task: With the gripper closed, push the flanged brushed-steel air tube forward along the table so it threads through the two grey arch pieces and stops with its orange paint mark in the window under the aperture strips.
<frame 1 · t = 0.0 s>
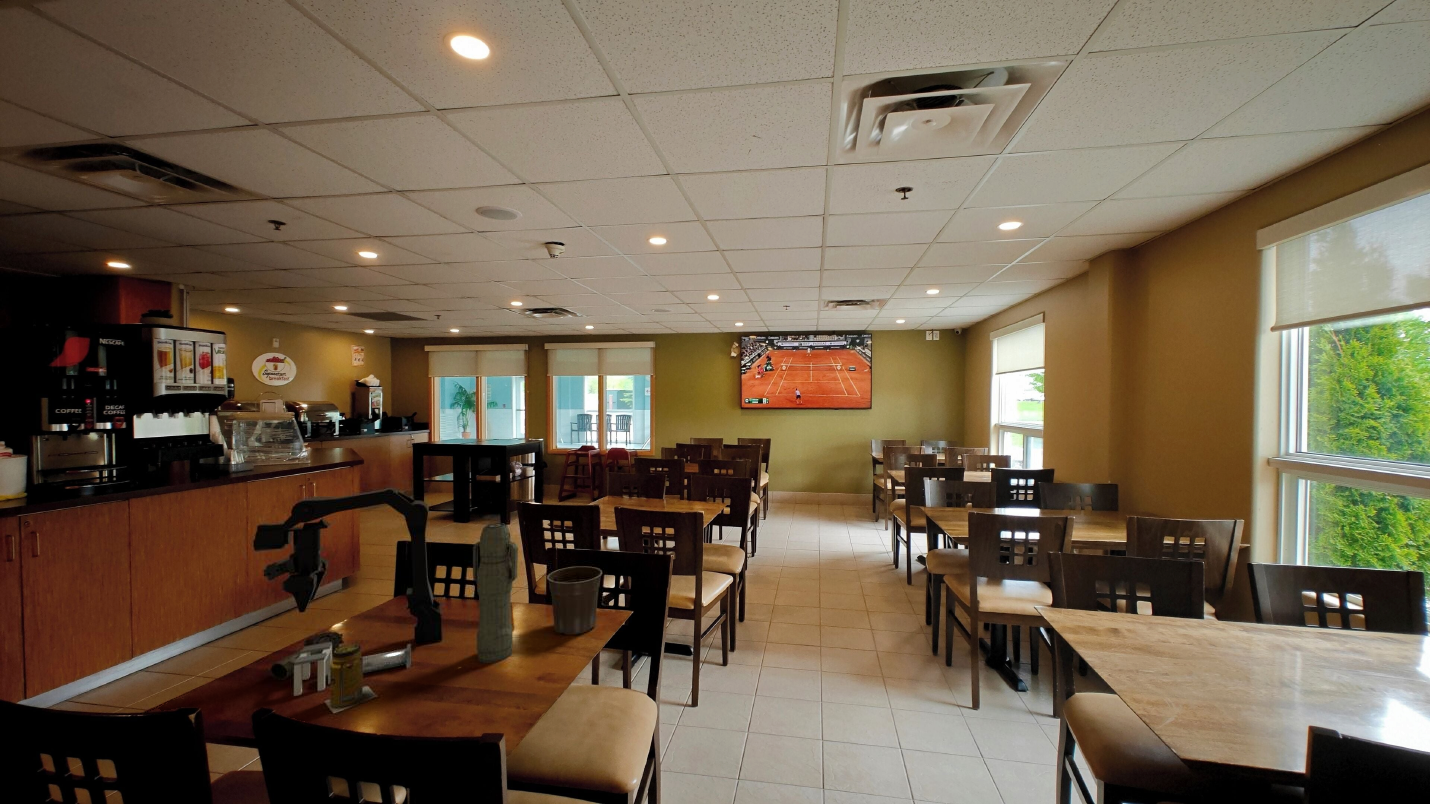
hand: (306, 605, 135), 15 cm above the table, fingers open, 9 cm apart
air tube: (371, 672, 130), on the table
condiment: (351, 700, 118), on the table
plant pot: (574, 627, 156), on the table
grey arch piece: (313, 683, 124), on the table
thermos: (495, 655, 139), on the table
metal pipe: (308, 663, 135), on the table
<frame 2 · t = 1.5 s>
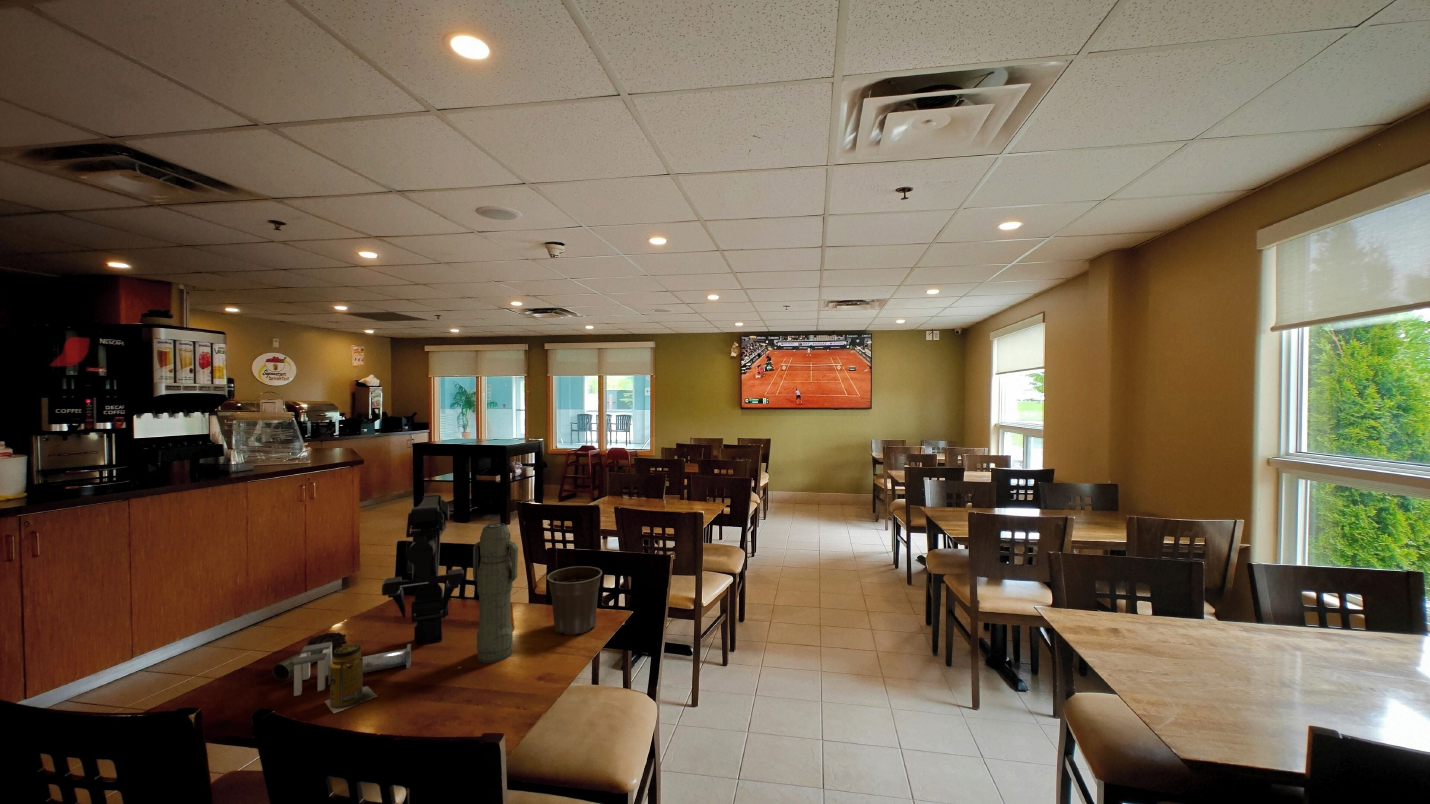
hand: (424, 613, 136), 12 cm above the table, fingers open, 9 cm apart
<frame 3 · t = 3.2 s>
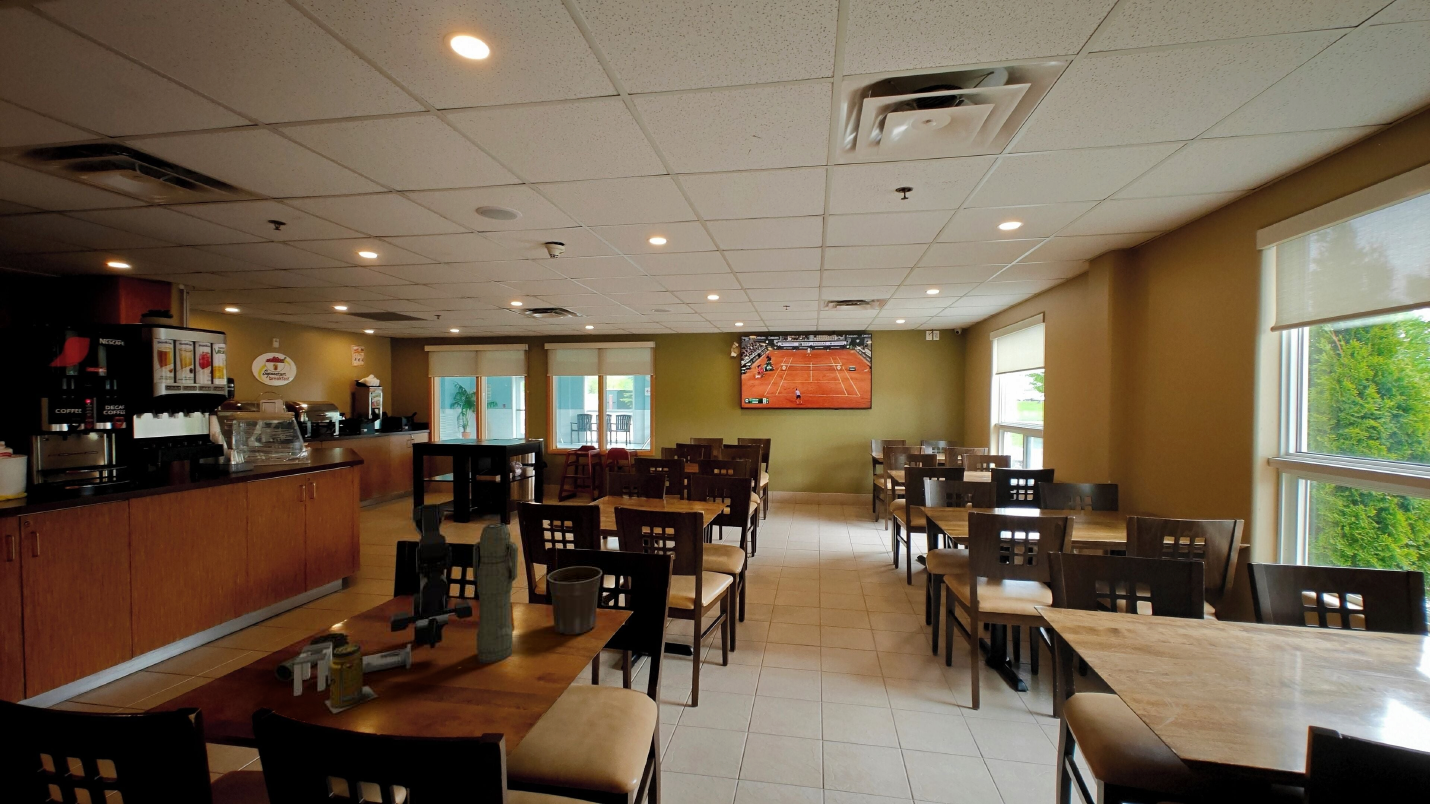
hand: (432, 647, 136), 3 cm above the table, fingers closed
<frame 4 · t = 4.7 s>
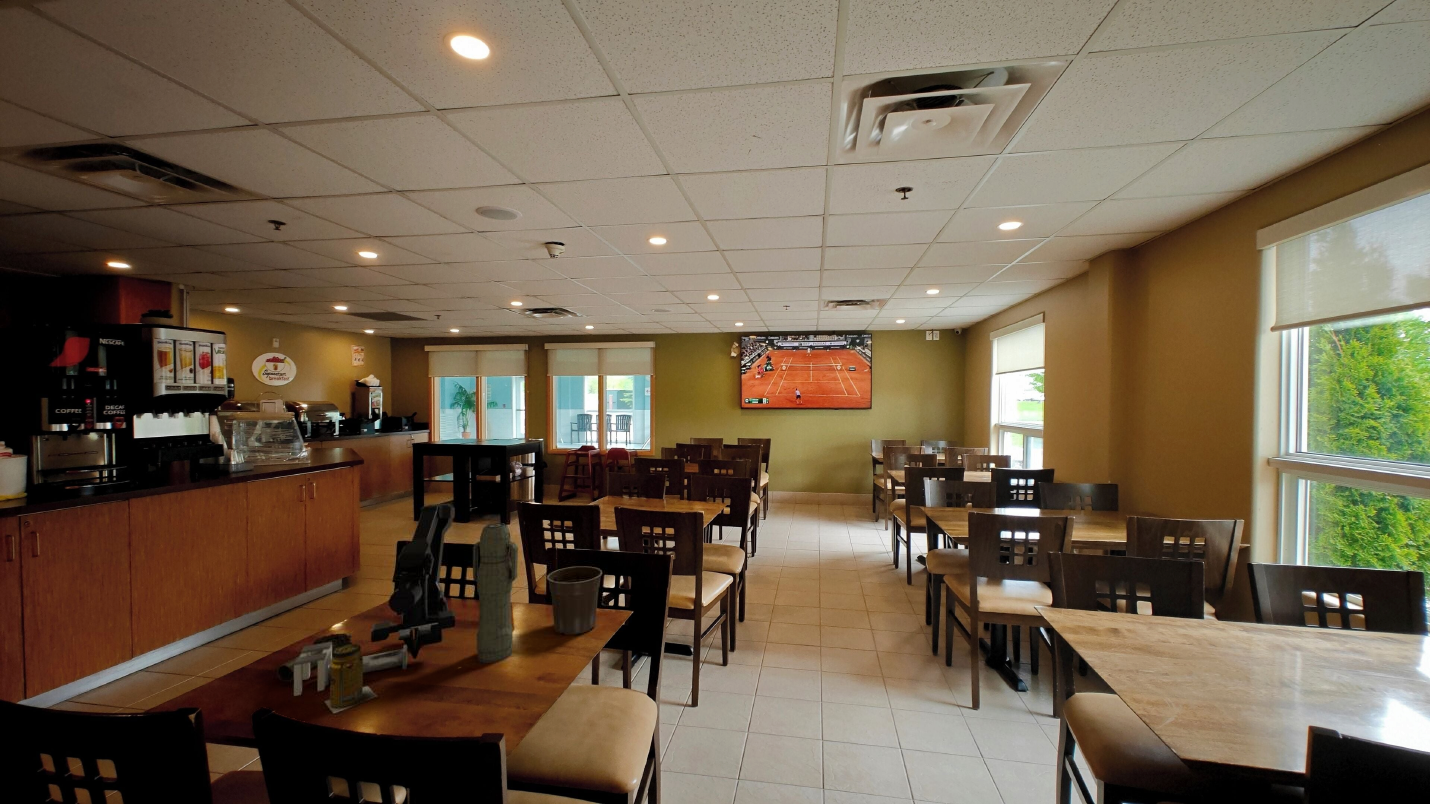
hand: (414, 658, 134), 1 cm above the table, fingers closed
air tube: (367, 672, 129), on the table, touching gripper
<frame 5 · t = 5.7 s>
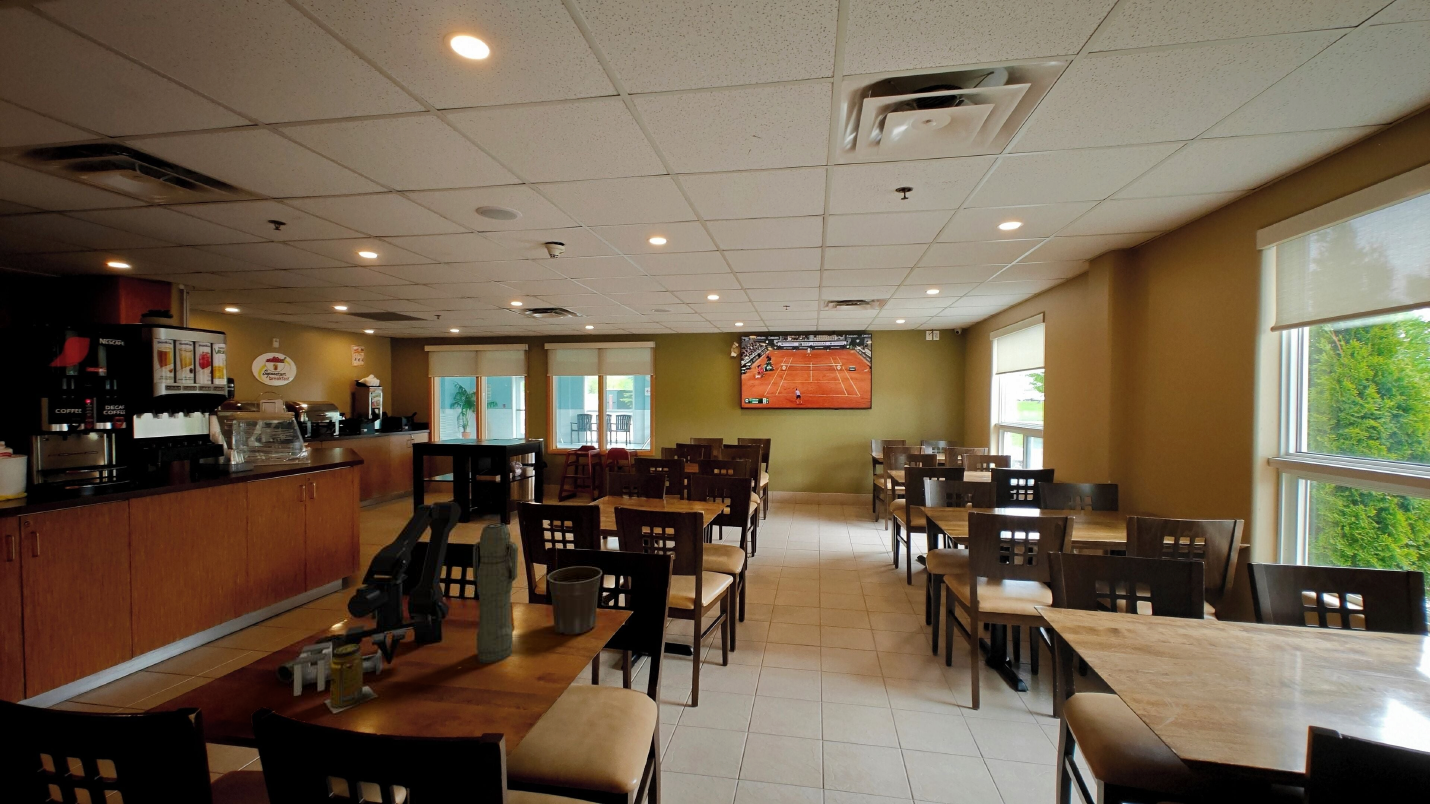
hand: (389, 663, 132), 1 cm above the table, fingers closed
air tube: (340, 678, 127), on the table, touching gripper
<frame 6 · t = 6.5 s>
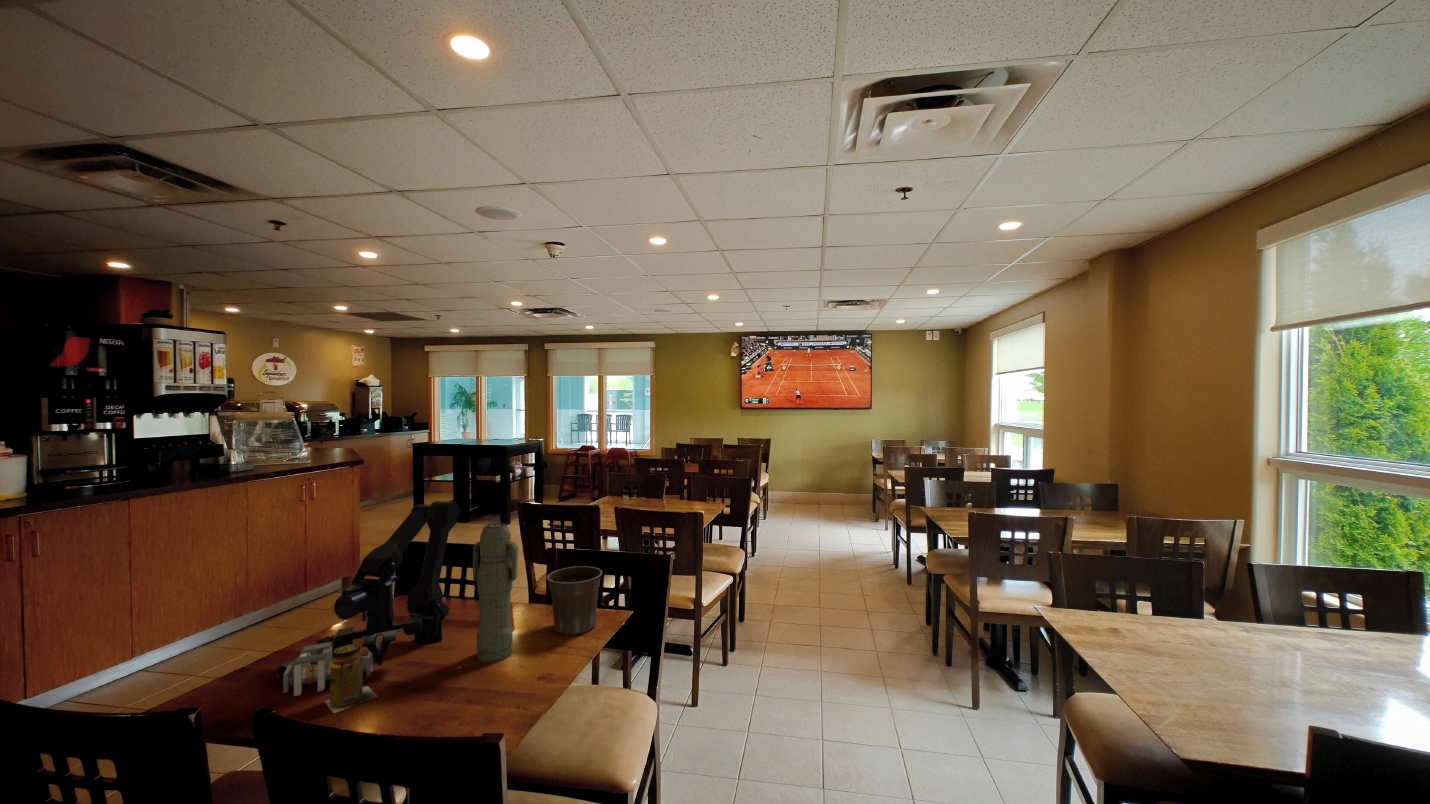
hand: (379, 665, 131), 1 cm above the table, fingers closed
air tube: (329, 679, 126), on the table, touching gripper
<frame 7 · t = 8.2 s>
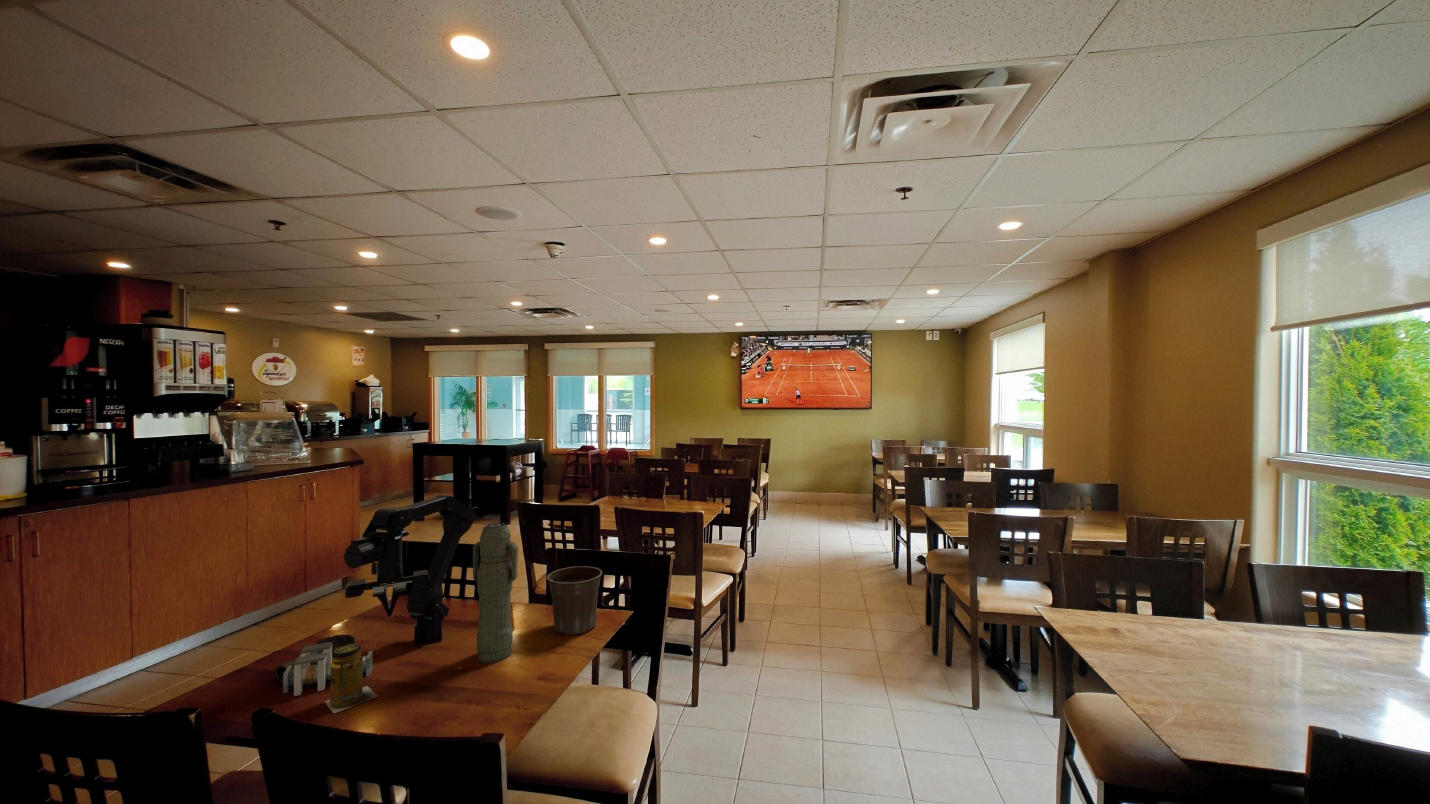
hand: (389, 615, 136), 12 cm above the table, fingers closed
air tube: (329, 680, 126), on the table
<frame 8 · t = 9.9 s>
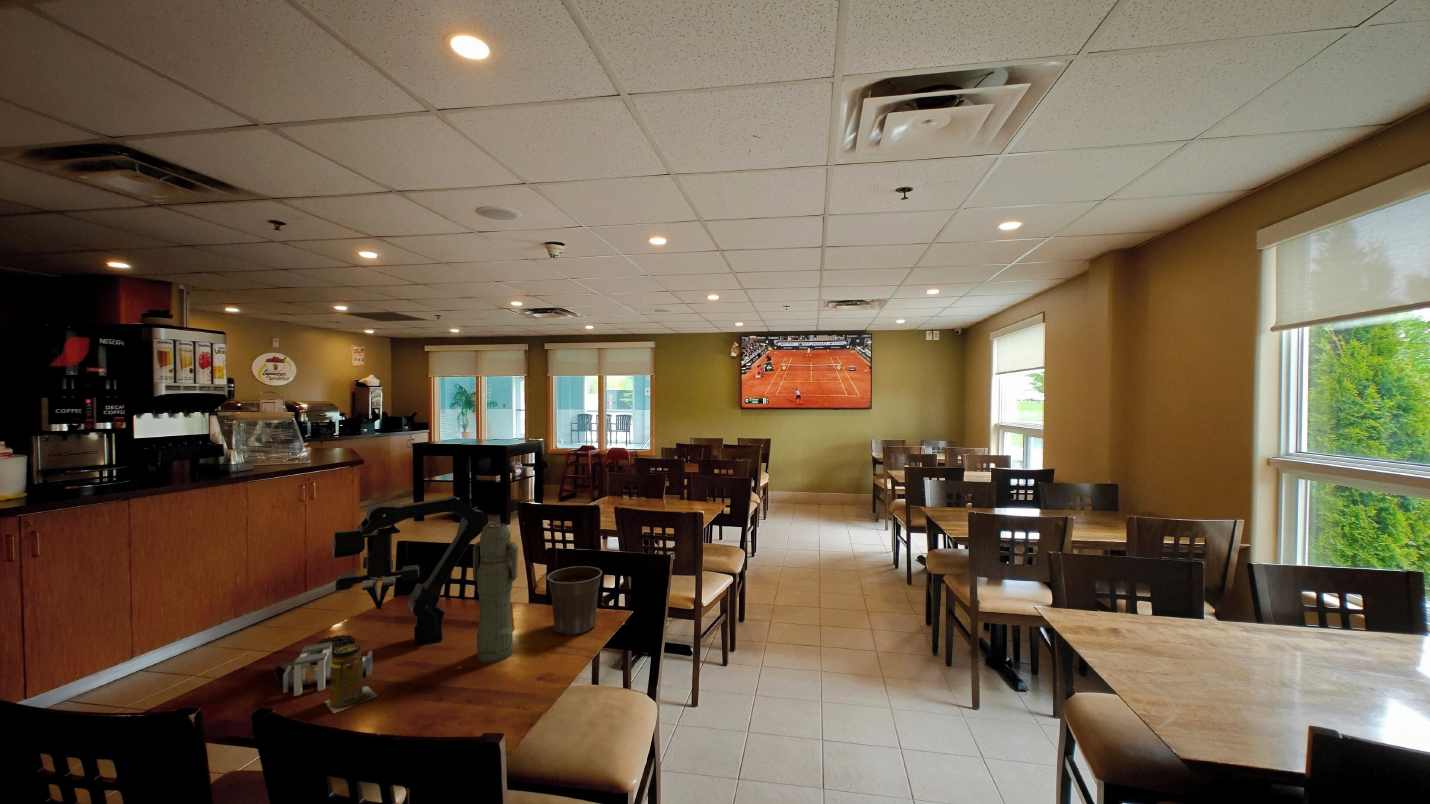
hand: (379, 608, 140), 12 cm above the table, fingers closed
metal pipe: (317, 666, 133), on the table, touching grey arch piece
everything else where it was.
at the end: air tube 0.6 cm from the target spot, on the table; air tube tilted 0° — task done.
